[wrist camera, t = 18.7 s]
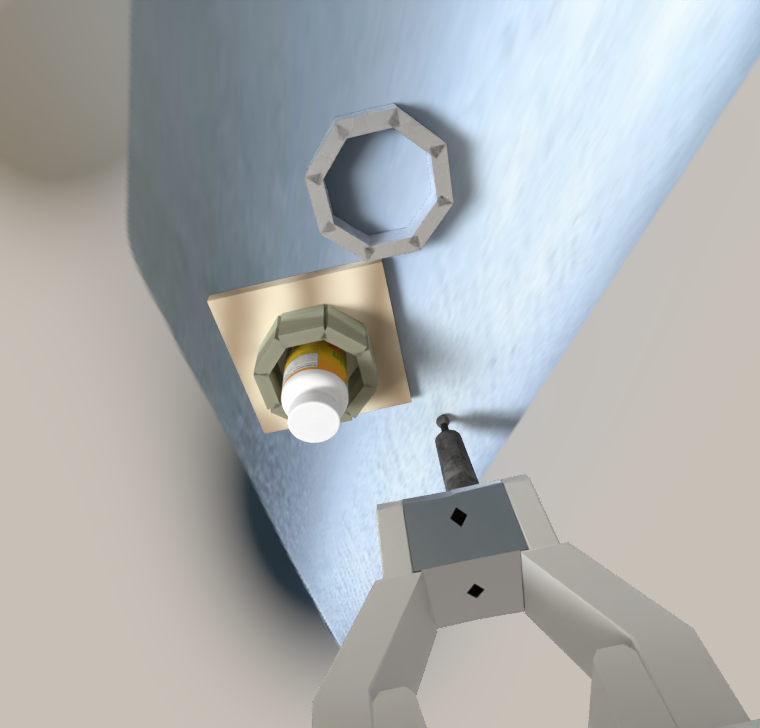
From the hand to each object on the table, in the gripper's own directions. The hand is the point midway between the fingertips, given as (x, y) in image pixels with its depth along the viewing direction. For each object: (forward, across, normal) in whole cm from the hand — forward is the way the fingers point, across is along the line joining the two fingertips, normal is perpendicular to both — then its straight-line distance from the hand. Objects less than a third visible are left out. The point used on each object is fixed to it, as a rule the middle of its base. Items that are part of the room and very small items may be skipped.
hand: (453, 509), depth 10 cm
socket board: (+34, +8, +15) cm, 38 cm away
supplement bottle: (+33, +8, +15) cm, 37 cm away
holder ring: (+34, -1, +2) cm, 34 cm away
